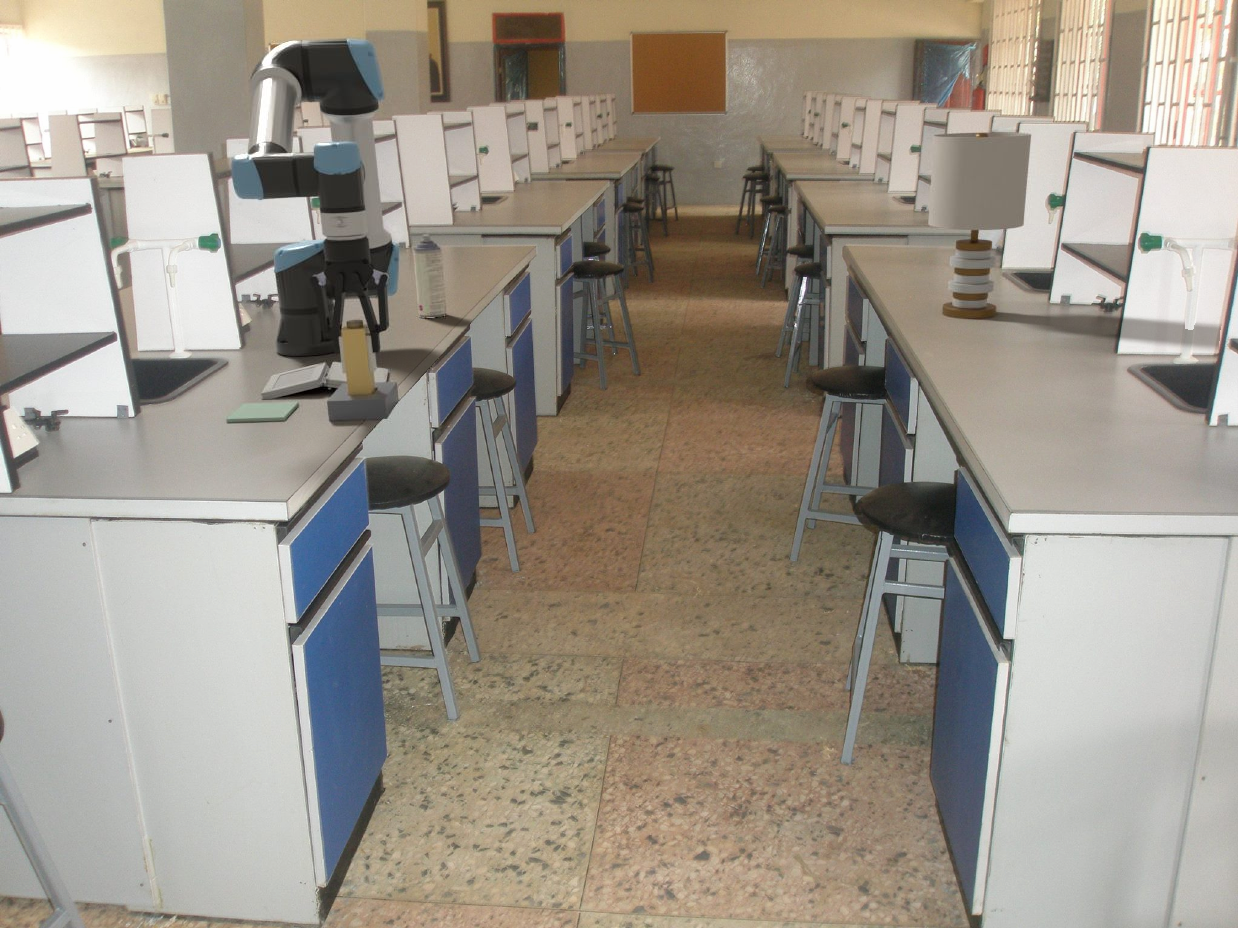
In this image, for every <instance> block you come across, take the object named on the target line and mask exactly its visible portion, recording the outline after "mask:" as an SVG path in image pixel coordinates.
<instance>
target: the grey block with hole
mask: <svg viewBox="0 0 1238 928" xmlns="http://www.w3.org/2000/svg"><path fill="white" fill-rule="evenodd" d="M375 390H376V392H375V393H374V394H364V395H348V388H347V383H344V384H341V385H340V387H339V388H336V389H335V391H334V392H333V393H332V394H331V396H330V397H329V398H328V399H327V400H326V404H327V413H328V421H333V422H334V421H360V420H361V421H362V420H388V418H389V417H390V415H391V414H392V412H393V411H394V409H395V407H396V405H397V404H398V402H399V400H400V398H399V387H398V381H386V382H375Z"/></svg>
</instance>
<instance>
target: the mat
mask: <svg viewBox="0 0 1238 928" xmlns="http://www.w3.org/2000/svg"><path fill="white" fill-rule="evenodd" d="M299 405H300V404H299V401H288V402H287V401H285V402H284V401H281V402H280V401H279V402H252V403H251V402H250V403H247V402H246V403H242V404H241V405H240V406H238V408H237V409H236V410H234V411H233V412H232V413H231V414H230V415H229V416H228V417H227V418H226V419H225V420H226V423H247V422H248V423H249V422H250V423H252V422H278V421H279V422H281V421H282V422H283V421H286V420H287V418H288V417H289V416H290V415H291V414H292V413H293V412H294V411H295V410H296V409H297V408H298V406H299Z"/></svg>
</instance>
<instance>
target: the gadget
mask: <svg viewBox="0 0 1238 928" xmlns="http://www.w3.org/2000/svg"><path fill="white" fill-rule="evenodd" d="M388 373H389V368H384V367H377V369H376V370H375V372H374V380H375V382H387V379H388ZM344 383H347V378H346V373H343V372H342V363H341V361H340V362H338V361H332V364H331V366H330V365H328V364H327V361H324V362H320V363H316V364H311V365H308V366H304V367H300V368H295V369H293V370H292V369H291V370H288V371H283V372H280V373H275V374H272V375H271V376H270V378H269V380H268V381H267V383H266V385H265V386H264V388H263V390H262V391H261V392H260V395H261V398H260V399H261V400H268V399H269V400H272V399H276V398H280V397H284V396H285V397H286V396H289V395H292V394H293V395H294V394H296V393H297V394H298V393H300V392H304V391H308V390H309V391H310V390H313V389H317V388H320V387H321V388H322V387H326V388H328V387H329V388H335V389H338V388H339V387H340V385H341V384H344Z"/></svg>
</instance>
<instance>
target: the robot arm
mask: <svg viewBox="0 0 1238 928" xmlns="http://www.w3.org/2000/svg"><path fill="white" fill-rule="evenodd" d="M258 61H259V62H257V63H256V65H255V67H254V68H253V70H252V72H251V76H250V79H249V80H250V81H249V93H250V98H251V99H252V101H253V102H252V110H251V111H252V112H251V120H250V128H249V135H248V144H247V152H246V153H244V154H238V155H235V156H233V157H232V159H231V162H230V163H231V165H230V168H231V178H232V180H231V181H232V185H233V186H232V187H233V188H234V189H233V190H234V192H235V194H236V196H237V197H238V198H239V199H241V200H258V201H262V200H272V199H273V200H274V199H289V198H290V199H291V198H314V197H315V198H318V202H319V215H320V223H321V224H320V225H321V232H322V236H324V237H325V239H324V238H323V239H321V238H320V239H313V240H312V239H311V240H306V241H305V240H304V241H299V242H295V243H291V244H290V243H289V244H287V245H284V246H281V247H279V248H277V249H276V250H275V252H274V253H273V264H274V265H273V266H274V267H273V268H274V269H273V273H274V275H275V281H276V290H277V296H278V297H277V298H278V306H279V313H280V314H279V315H280V318H279V323H278V327H277V332H276V333H277V334H276V337H275V348H276V349H275V350H276V353H277V354H279V355H284V356H292V357H294V356H295V357H307V356H318V355H325V354H331V353H335V354H336V355H340V363H342V372H343V373H346V369H345V360H344V351H343V341H342V332H341V330H342V329H343V322H344V319H343V318H344V311H345V300H359V302H360V306H361V309H362V312H363V315H364V318H365V321H366V322H365V323H366V324H367V325H368V328H369V331H370V333H368V334H367V336H366V340H367V350H368V360H369V370H370V373H373V372H375V370H376V369H377V368H378V366H377V357H376V354H377V353H378V354H379V352H380V351H381V349H382V348H381V341H380V340H381V339H380V333H383V332H385V331H387V330H388V328H389V327H390V317H389V314H390V313H389V300H388V297H393V296H394V295H395V294H397V292H398V288H399V277H400V276H399V274H400V273H399V272H400V265H399V264H400V244H399V243H398V242H396V241H395V242H394V241H393V239H392V234H391V233H390V232H388V230H386V229H385V228H384V221H383V220H384V219H383V209H382V201H381V190H380V180H379V172H378V171H379V170H378V161H377V151H376V143H375V141H376V140H375V133H374V131H375V130H374V124H373V123H374V122H373V117H374V116H375V115H376V113H377V112H378V111H379V110H380V106H379V102H382V101H383V100H385V98H386V96H385V95H386V93H385V88H384V83H383V78H382V73H381V68H380V64H379V60H378V56H377V52H376V49H375V46H374V44H373V43H372V42H371V40H370V41H369V40H368V39H359V38H358V39H356V38H349V37H348V38H328V39H309V40H308V39H307V40H306V39H303V40H302V39H295V40H291V41H287V42H286V41H285V42H284V43H281V44H279V45H277V46H276V47H274V48H272V49H271V50H269V52H267V53H265V55H263V57H262V58H261V59H260V60H258ZM301 103H319V108H320V109H319V110H320V112H321V113H322V115H324V116H325V117H326V118H327V119H328V121H329V130H330V135H331V141H325V142H318V143H316V144H315V145H314V147H313V151H310V152H293V147H294V134H295V133H294V131H295V116H296V114H295V113H296V108H297V107H298V106H299V104H301ZM371 299H377V303H378V305H377V307H378V319H379V323H378V321H377V317H376V314H375V311H374V307H373V304H372V301H371Z"/></svg>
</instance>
